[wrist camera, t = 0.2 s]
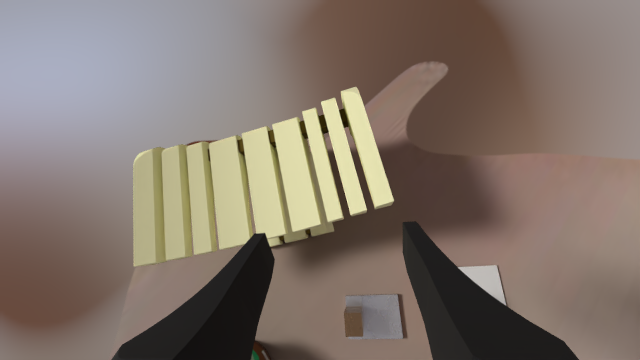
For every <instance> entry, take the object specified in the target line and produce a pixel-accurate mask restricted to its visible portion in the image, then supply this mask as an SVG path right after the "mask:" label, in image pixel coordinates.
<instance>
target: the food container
mask: <svg viewBox="0 0 640 360" xmlns="http://www.w3.org/2000/svg"><path fill="white" fill-rule="evenodd" d="M251 360H271V358H270V356H269V354H268V353H267V351H266V349H265V348H264V347H263V346H262V345H261V344H259V343H258V342H256V341H254V346H253V351H252V357H251Z"/></svg>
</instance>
